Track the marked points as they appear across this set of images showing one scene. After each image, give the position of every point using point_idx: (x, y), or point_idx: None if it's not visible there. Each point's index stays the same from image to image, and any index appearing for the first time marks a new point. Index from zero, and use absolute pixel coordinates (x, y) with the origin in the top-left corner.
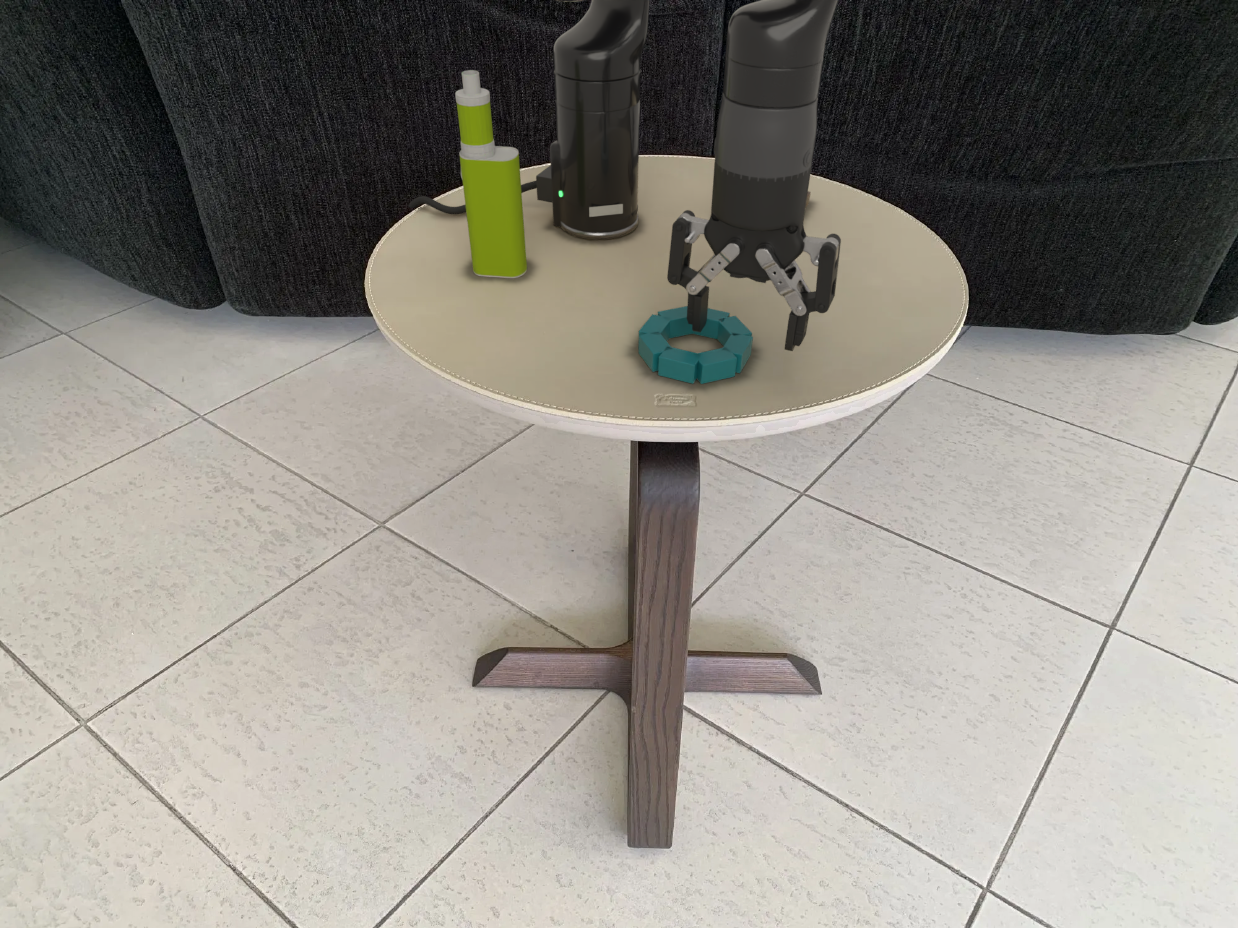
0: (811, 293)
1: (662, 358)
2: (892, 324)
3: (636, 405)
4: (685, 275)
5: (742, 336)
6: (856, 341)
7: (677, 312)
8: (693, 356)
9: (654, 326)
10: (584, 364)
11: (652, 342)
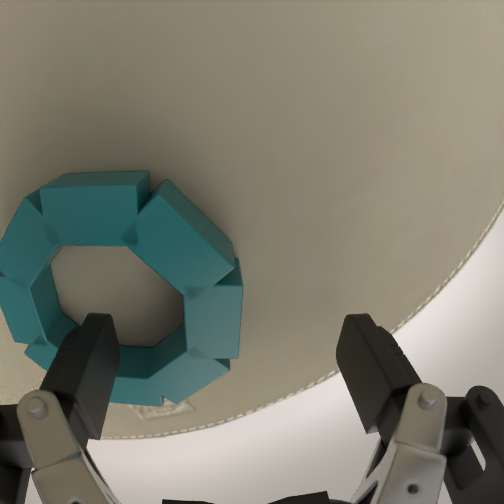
0: (443, 436)
1: None
2: (493, 46)
3: (122, 423)
4: (31, 466)
5: (215, 294)
6: (451, 120)
7: (20, 247)
8: (146, 388)
9: (22, 321)
10: (9, 367)
11: None
